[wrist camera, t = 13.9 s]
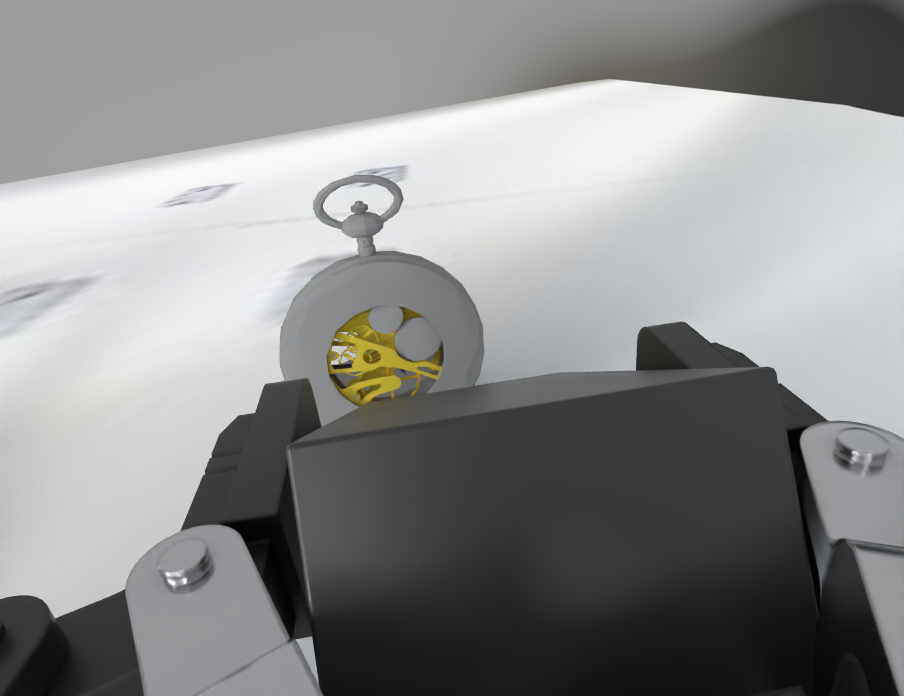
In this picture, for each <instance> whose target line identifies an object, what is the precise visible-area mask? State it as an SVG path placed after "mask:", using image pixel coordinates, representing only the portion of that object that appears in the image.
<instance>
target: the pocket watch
mask: <svg viewBox="0 0 904 696" xmlns="http://www.w3.org/2000/svg"><path fill="white" fill-rule="evenodd" d="M357 182H363V183H375V184H378V185H380V186H383V187H386V188H387V189H388V190H389V191H390V192H391V193H392V194H393V195H394V201H393V203H392V205H391V207H390V208H389V210H387V211H386V212H385V213H384V214H382V215H381V216H379V215H377V214H375V213H371V212H365V211H366V210H367V209H368V205H367V204H363V202H362V201H356V202H355V204H354V205H353V206H351V211H352V212H354V213H356V214H353V215H350V216H349V217H348V218H347V219H345V220H344V221H343V222H340V221H337V220H335V219H333V218H331V217H330V216H329V215H327V214H326V213H325V212H324V209H323V207H322V206H323V203H324V201H325V199H326V198H327V196H328V195H329V194H330V193H332V192H333V191H335V190H336V189H338V188H340V187H341V186H344V185H348V184H353V183H357ZM402 202H403V196H402V192H401V189H400V188H399V187H398V186H397V185H396V184H395V183H394V182H392V181H390V180H388V179H386V178H383V177H380V176H374V175H354V176H350V177H347V178H344V179H341V180H337V181H334V182H332V183H330V184H329V185H327V186H326V187H325V188H323V189H322V190H321V191H320V192H319V193H318V194H317V196H316V198H315V199H314V201H313V210H314V212H315V214H316V217H317V218H318V219H319V220H320V221H321V222H322V223H325V224H327V225H329V226H332V227H335V228H339V229H342V232H343V233H345V234H346V235H347V236H350V237H352V238H357V242H358V246H359V247H358V249H357V250H358V253H359V255H356V256H353V257H349V258H346V259H343V260H340V261H337V262H335V263H334V264H332V265H331V266H329V267H327V268H326V269H324V270H323V271H321V272H320V273H318V274H316V275H315V276H314V277H313V278H312V279H311V280H310V281H309V282H308V283H307V284H306V285H305V286H304V288H303V289H302V290H301V291H300V292H299V293H298V294H297V295H296V296H295V297H294V299H293V301H292V303H291V306H290V308H289V311H288V313H287V315H286V318H285V320H284V322H283V325H282V327H281V334H280V367H281V370H282V373H283V376H284V379H285V381H289V380H295V379H302V378H308V379H309V381H310V383H311V386H312V390H313V393H314V397H315V401H316V405H317V410H318V414H319V418H320V422H321V426H322V427H323V426H325V425H327V424H329V423H330V422H332V421H334V420H336V419H338V418H340V417H342V416H344V415H346V414H347V413H349V412H351V411H353V410H355V409H357V408H359V407H361V406H362V405H364V404H366V403H369V402H375V401H382V400H388V399H394V398H401V397H407V396H414V395H420V394H426V393H433V392H439V391H446V390H452V389H458V388H465V387H471V386H474V385H475V383H476V381H477V379H478V377H479V374H480V370H481V365H482V360H483V354H484V343H483V326H482V323H481V320H480V317H479V315H478V312H477V309H476V306H475V304H474V303H473V301H472V300H471V298H470V296H469V295H468V293H467V292H466V290H465V288H464V287H463V285H462V284H461V283H460V282H459V281H458V280H456V279H455V278H454V277H453V276H452V275H451V274H449V273H448V272H447V271H446V270H445V269H444V268H442V267H440V266H438V265H436V264H434V263H432V262H430V261H428V260H426V259H424V258H422V257H420V256H416V255H411V254H406V253H401V252H396V251H382V252H376V249H375V245H374V244H373V237H372V236H373V235H375V234H376V233H378V232H379V231H380V230H381V229H382V228H383V222H386V221H387V220H388V219H390V218H391V217H393V216H394V215H395V214H396V213H397V212H398V211H399V209H400V206H401V204H402ZM340 332H349V333H348V334H347V335H346V334H343V333H340ZM353 332H356V333H357V334H358V335H356V334H355V333H353ZM349 334H351V335H352V336H354V337H352V336H349ZM334 339H337V340H342V341H334ZM344 341H346V342H344ZM332 346H347V347H348V348H347V350H344V352H343V353H342V355H340V356H341V358H340V361H339V365H331V361H332V360H336V359H337V358H338V357H339V354H338V353H337V352H334V351H331V349H332ZM349 346H355V347H352V348H350V347H349ZM352 349H353V350H352ZM438 349H439V351H438ZM349 350H350V352H352V353H356V354H357V356H356V358H352V357H351V356H349V355H348V354H346V353H345V352H347V351H349ZM356 350H358V351H357V352H355V351H356ZM365 352H366V353H365ZM364 353H365V354H364ZM342 356H345V357H347V358H348V359H350V360H349V361H347V362H345V363H343V364H342V363H341V359H342Z"/></svg>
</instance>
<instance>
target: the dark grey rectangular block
mask: <svg viewBox="0 0 904 696" xmlns="http://www.w3.org/2000/svg"><path fill="white" fill-rule="evenodd" d="M286 454H287V461H288V469H289V476H290V483H291V490H292V497H293V504H294V511H295V518H296V525H297V532H298V539H299V546H300V553H301V560H302V567H303V574H304V581H305V588H306V595H307V602H308V609H309V616H310V623H311V630H312V638H313V645H314V652H315V659H316V666H317V673H318V680H319V687H320V690H321V692H322V694H323V696H749V695H754V694H759V693H764V692H769V691H774V690H779V689H784V688H790V687H795V686H801V688H802V689H803V691H804V692H805V694H806V695H807V696H812V695H813V674H814V654H815V633H816V623H817V619H818V615H819V613H818V607H817V602H816V596H815V590H814V585H813V579H812V573H811V568H810V562H809V556H808V551H807V545H806V539H805V534H804V528H803V522H802V516H801V511H800V505H799V499H798V494H797V488H796V482H795V477H794V471H793V465H792V460H791V454H790V448H789V443H788V437H787V431H786V426H785V420H784V414H783V409H782V403H781V397H780V392H779V386H778V380H777V374H776V371H775V370H774V369H773V368H770V367H747V368H711V369H676V370H640V371H605V372H569V373H554V374H548V375H542V376H535V377H529V378H522V379H516V380H510V381H503V382H497V383H490V384H484V385H478V386H471V387H465V388H458V389H452V390H446V391H439V392H433V393H426V394H420V395H414V396H407V397H401V398H394V399H388V400H382V401H375V402H369V403H366V404H364V405H362V406H361V407H359V408H357V409H355V410H353V411H351V412H349V413H347V414H346V415H344V416H342V417H340V418H338V419H336V420H334V421H332V422H330V423H329V424H327V425H325V426H323V427H321V428H319V429H317V430H315V431H313V432H312V433H310V434H308V435H306V436H304V437H302V438H300V439H298V440H296V441H295V442H293V443H291V444H289V445H288V446H287V449H286Z"/></svg>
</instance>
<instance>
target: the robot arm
mask: <svg viewBox="0 0 904 696" xmlns="http://www.w3.org/2000/svg"><path fill="white" fill-rule="evenodd" d="M747 367H759V366H758V365H756V364H755V363H754V362H753V361H751V360H750V359H749V358H748V357H746V356H745V355H744V354H742V353H740V352H738V351H735V350H733V349H730V348H728V347H725V346H723V345H720V344H718V343H710V342H709V341H707V340H706V339H705V338H704V337H703V336H701V335H700V334H699V333H698V332H697V331H695V330H694V329H693V328H692V327H691V326H689V325H688V324H687V323H685V322H675V323H669V324H662V325H656V326H649V327H643V328H642V329H641V330H640V332H639V334H638V339H637V358H636V371H640V370H676V369H711V368H747ZM778 386H779V392H780V397H781V403H782V409H783V414H784V420H785V426H786V431H787V437H788V443H789V448H790V454H791V460H792V465H793V471H794V477H795V482H796V488H797V494H798V499H799V505H800V511H801V516H802V522H803V528H804V534H805V539H806V545H807V551H808V556H809V562H810V568H811V573H812V579H813V585H814V590H815V596H816V602H817V607H818V613H819V615H818V619H817V623H816V633H815V654H814V674H813V695H812V696H904V439H903V438H901V437H900V436H898V435H896V434H893V433H891V432H889V431H886V430H884V429H881V428H878V427H875V426H871V425H867V424H862V423H857V422H849V421H828V420H826V419H825V418H824V417H823V416H821V415H820V414H819V413H817V412H816V411H815V410H814V409H812V408H811V407H810V406H809V405H807V404H806V403H805V402H803V401H802V400H801V399H800V398H798V397H797V396H796V395H795V394H793V393H792V392H791V391H790V390H788V389H787V388H786V387H784V386H783V385H782V384H781V383H780V384H778ZM321 427H322V426H321V422H320V418H319V414H318V410H317V405H316V401H315V397H314V393H313V390H312V386H311V383H310V381H309V379H308V378H302V379H295V380H289V381H282V382H276V383H269V384H265V385H264V388H263V391H262V394H261V397H260V400H259V403H258V406H257V409H256V412H255V413H252V414H246V415H239V416H238V417H237V418H236V419H235V420H234V421H233V422H232V423H231V424H230V425H229V426H228V427H227V428H226V429H225V430H224V431H223V432H222V433H221V434H220V435H219V437H218V440H217V442H216V445H215V447H214V450H213V452H212V458H210V459H209V462H208V464H207V467H206V469H205V475H203V477H202V479H201V482H200V484H199V487H198V489H197V492H196V494H195V497H194V499H193V502H192V504H191V507H190V509H189V512H188V514H187V516H186V519H185V521H184V524H183V526H182V529H181V531H180V532H178V533H176V534H174V535H172V536H170V537H168V538H166V539H164V540H163V541H161V542H160V543H158V544H157V545H155V546H154V547H153V548H151V549H150V550H149V551H148V552H147V553H146V554H145V555H144V556H143V557H142V558H141V559H140V560H139V561H138V562H137V563H136V565H135V566H134V568H133V569H132V571H131V572H130V574H129V577H128V579H127V582H126V587H125V590H123V591H121V592H119V593H116V594H114V595H112V596H110V597H107V598H105V599H102V600H100V601H97V602H95V603H92V604H90V605H88V606H85V607H83V608H80V609H78V610H75V611H73V612H70V613H68V614H65V615H63V616H60V617H58V618H54V616H53V614H52V613H51V611H50V609H49V608H48V606H47V604H46V603H45V602H44V601H43V600H41V599H39V598H37V597H33V596H12V597H7V598H3V599H0V696H323V694H322V692H321V690H320V688H319V686H318V684H317V682H316V680H315V678H314V675H313V673H312V671H311V669H310V667H309V665H308V663H307V661H306V659H305V657H304V655H303V653H302V651H301V649H300V647H299V645H298V643H297V642H296V640H295V639H299V638H305V637H311V636H312V630H311V623H310V616H309V609H308V602H307V595H306V588H305V581H304V574H303V567H302V560H301V553H300V546H299V539H298V532H297V525H296V518H295V511H294V504H293V497H292V490H291V483H290V476H289V469H288V461H287V454H286V449H287V446H288V445H289V444H291V443H293V442H295V441H296V440H298V439H300V438H302V437H304V436H306V435H308V434H310V433H312V432H313V431H315V430H317V429H319V428H321ZM749 696H807V695H806V694H805V692H804V691H803V689H802V688H801V686H795V687H790V688H784V689H779V690H774V691H769V692H764V693H759V694H754V695H749Z"/></svg>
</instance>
